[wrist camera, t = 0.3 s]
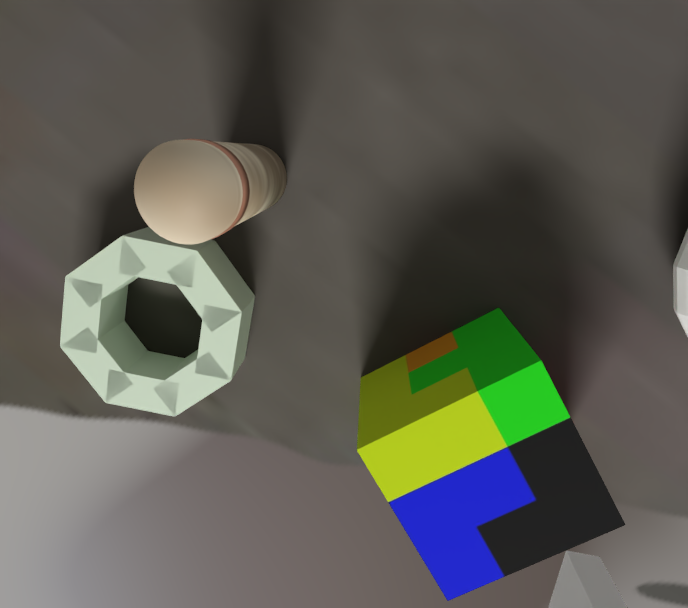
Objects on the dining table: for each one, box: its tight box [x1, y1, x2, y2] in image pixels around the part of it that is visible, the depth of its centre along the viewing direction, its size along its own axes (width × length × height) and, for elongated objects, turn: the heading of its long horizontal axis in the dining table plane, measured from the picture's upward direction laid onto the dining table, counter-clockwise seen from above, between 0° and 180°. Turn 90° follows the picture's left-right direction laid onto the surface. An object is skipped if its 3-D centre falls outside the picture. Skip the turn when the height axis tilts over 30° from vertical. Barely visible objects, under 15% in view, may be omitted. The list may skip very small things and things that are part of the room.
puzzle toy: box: [357, 308, 625, 601], centre depth 35 cm, size 10×10×10 cm
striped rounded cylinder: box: [134, 139, 287, 244], centre depth 30 cm, size 4×4×14 cm
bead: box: [60, 227, 255, 416], centre depth 37 cm, size 10×10×4 cm
